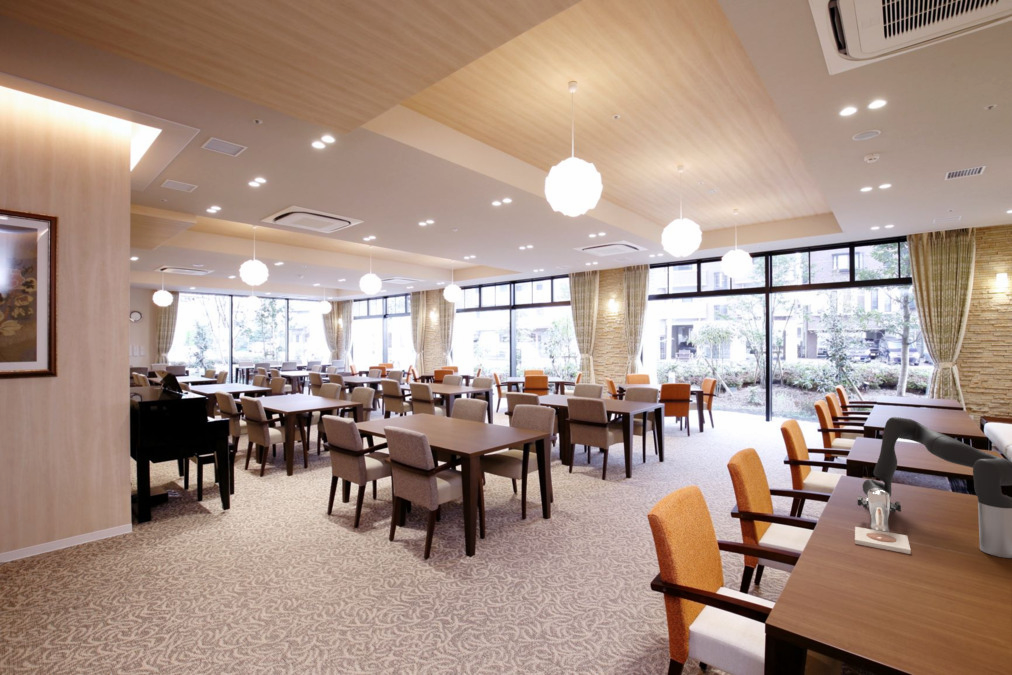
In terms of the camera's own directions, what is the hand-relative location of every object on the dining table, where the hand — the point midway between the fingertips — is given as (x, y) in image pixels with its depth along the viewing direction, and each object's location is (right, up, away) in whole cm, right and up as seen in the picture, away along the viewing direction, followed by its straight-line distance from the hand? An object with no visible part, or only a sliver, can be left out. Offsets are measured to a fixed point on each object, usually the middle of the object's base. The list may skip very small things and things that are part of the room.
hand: (879, 508), depth 193 cm
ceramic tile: (-10, -8, -13) cm, 18 cm away
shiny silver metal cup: (-1, -8, -1) cm, 8 cm away
